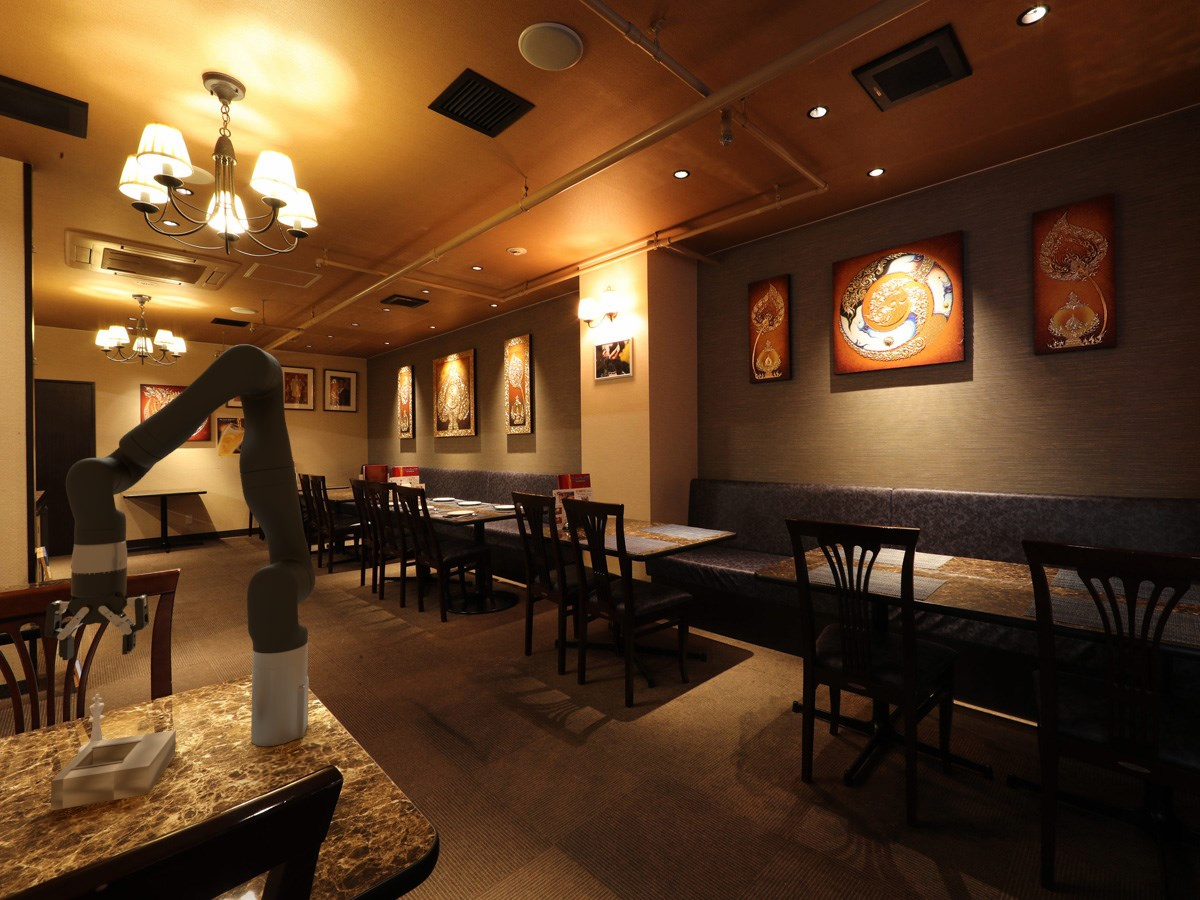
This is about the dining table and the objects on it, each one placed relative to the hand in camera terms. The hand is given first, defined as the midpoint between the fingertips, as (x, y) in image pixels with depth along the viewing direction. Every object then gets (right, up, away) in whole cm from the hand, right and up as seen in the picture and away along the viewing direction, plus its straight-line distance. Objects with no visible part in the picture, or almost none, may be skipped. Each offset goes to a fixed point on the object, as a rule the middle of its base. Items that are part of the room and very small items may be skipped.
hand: (97, 656), depth 101 cm
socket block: (+12, -17, -9) cm, 23 cm away
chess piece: (0, -17, 0) cm, 17 cm away
